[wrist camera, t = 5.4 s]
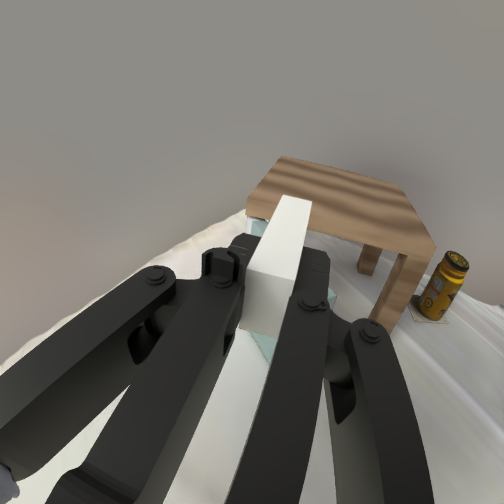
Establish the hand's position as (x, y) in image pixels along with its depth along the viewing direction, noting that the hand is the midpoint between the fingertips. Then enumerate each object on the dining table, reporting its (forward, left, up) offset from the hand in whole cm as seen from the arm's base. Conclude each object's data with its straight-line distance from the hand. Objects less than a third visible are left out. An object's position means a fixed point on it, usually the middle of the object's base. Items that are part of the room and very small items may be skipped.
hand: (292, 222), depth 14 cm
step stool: (-17, -19, -23) cm, 35 cm away
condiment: (-37, -9, -24) cm, 45 cm away
